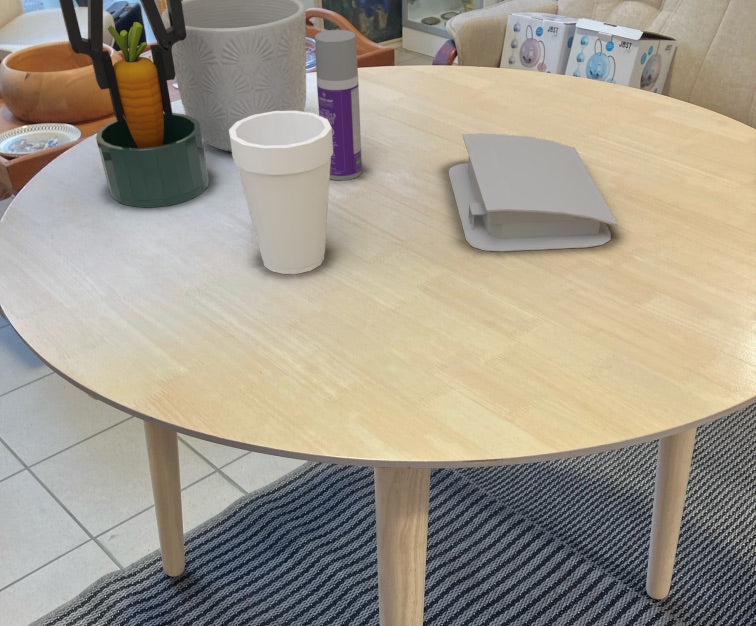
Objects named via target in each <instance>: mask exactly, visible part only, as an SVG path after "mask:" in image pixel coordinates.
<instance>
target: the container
mask: <svg viewBox="0 0 756 626" xmlns="http://www.w3.org/2000/svg"><path fill="white" fill-rule="evenodd" d="M356 37H357V36H356V33H355V32H354V31H350V30H347V29H346V30H345V29H330V30H329V29H328V30H324V31H320V32H318V33H316V34H315V35H314V49H315V69H316V70H315V71H316V90H317V101H318V103H317V104H318V115H319V116H321V117H323V118H326V119H328V121H329V123H330V125H331V127H332V142H333V154H332V156H331V163H330V179H329V180H334V181H349V180H353V179H356V178H358V177H360V176H361V175H362V174H363V168H362V167H363V166H362V165H363V164H362V163H363V162H362V137H361V135H362V134H361V112H360V111H361V110H360V87H359V86H360V85H359V68H358V53H357V38H356Z"/></svg>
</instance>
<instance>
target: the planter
mask: <svg viewBox="0 0 756 626" xmlns="http://www.w3.org/2000/svg"><path fill="white" fill-rule="evenodd" d="M181 2H182V8H183V15H184V21H185V28H186V38H185V39H184V40H182V41H178V42H176V43H175V44H174V45H173V46H172V56H173V62H174V69H175V74H176V75H175V81H176V85H177V89H178V93H179V96H180V97H179V98H180V101H181V104H182V108H183V110H184V111H183V112H184V114H185V115H187V116H190V117H192V118H194V119H196V120H197V121H198V122H199V123H200V128H201V134H202V140H203V142H205V143H207V144H208V145H210V146H212V147H214V148H216V149H218V150H221V151H226V152H231V153H232V149H231V142H230V135H229V129H230V128H231V127H232V126H233V125H234V124H235V123H236V122H237V121H240V120H242V119H244V118H247V117H249V116H252V115H256V114H261V113H266V112H272V111H301V112H305V109H306V104H307V103H306V102H307V37H306V36H307V30H306V29H307V28H306V27H307V26H306V24H307V23H306V22H307V20H306V16H307V15H306V6H305V4H304V3H303V2H302V1H301V0H181ZM160 16H161V19H162V21H163V24H164V26H165V29H167V28H169V27H170V21H169V15H168V9H167V7H166V8H165V9H164V10H163V11H162V13H161V15H160Z"/></svg>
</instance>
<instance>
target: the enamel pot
mask: <svg viewBox="0 0 756 626" xmlns="http://www.w3.org/2000/svg"><path fill="white" fill-rule="evenodd" d="M172 113H173V115H166V114H165V113H164V111H163V114H164V137H163V143H162V146H157V147H148V148H138V146H137V145H136V143H135V141H134V139H133V137H132V135H131V132H130V130H129V128H128V125H127V123H126V120H125V122H118V121H117V119H114V120H112V121H110V122H108V123H106V124H105V125H103V126H101V127H100V128H99V129H98V130H97V132H96V136H95V140H96V144H97V148H98V152H99V156H100V160H101V163H102V164H101V165H102V168H103V171H104V176H105V177H104V178H105V180H106V184H107V187H108V190H109V194H110V195H111V198H112V199H113V200H114V201H116V202H117V203H120V204H122V205H125V206H130V207H134V208H135V207H136V208H159V207H160V208H162V207H167V206H168V207H169V206H172V205H177V204H181V203H184V202H187V201H189V200H192V199H194V198H196V197H198V196H200V195H201V194H203V193H204V192H205V191H206V189H207V188H208V186H209V183H210V179H209V172H208V166H207V159H206V154H205V147H204V140H203V139H202V134H201V128H200V123H199V122H198V121H197V120H196V119H194V118H192V117H190V116H187V115H186V114H185V113H179V112H178V113H177V112H172ZM124 119H125V117H124Z"/></svg>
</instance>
